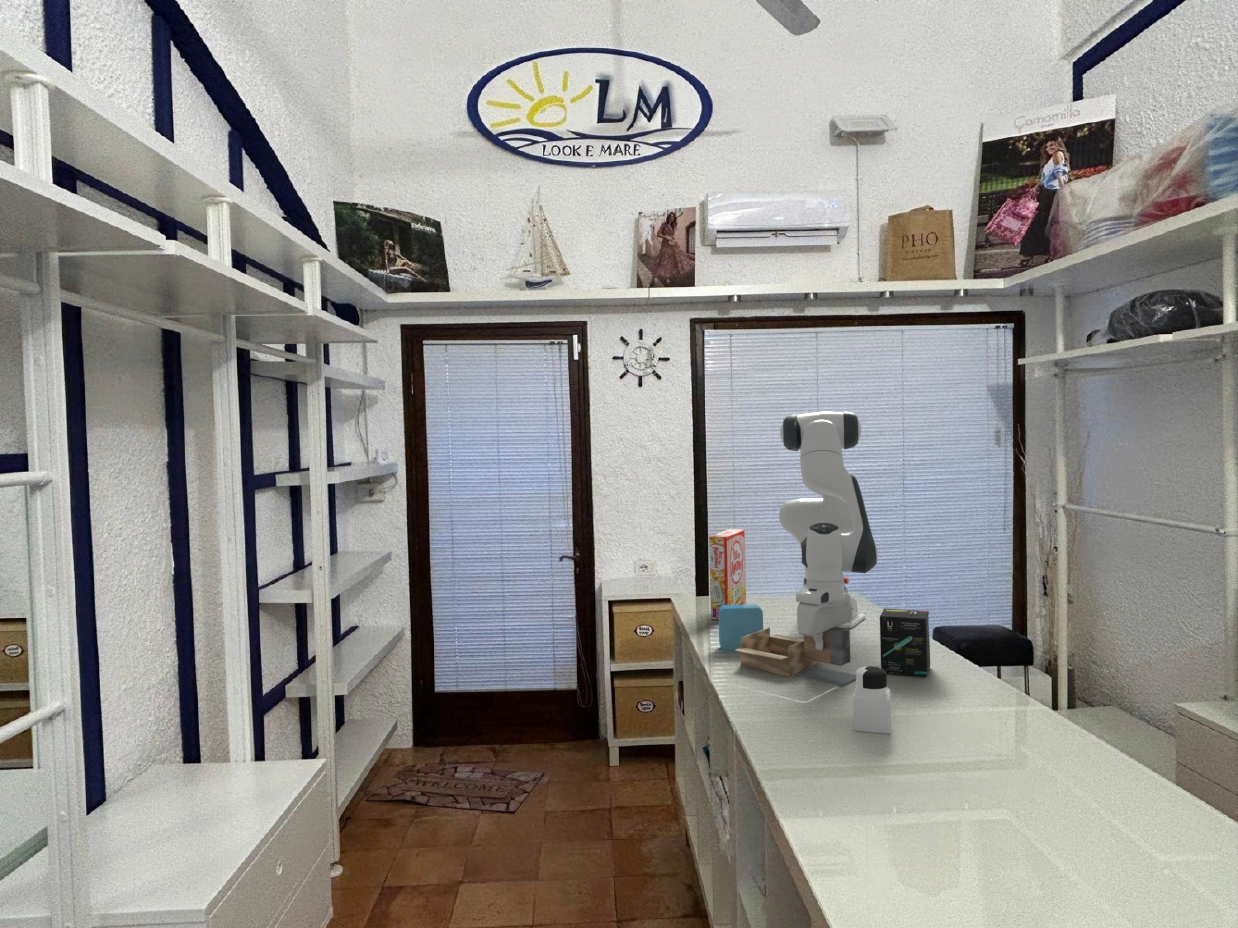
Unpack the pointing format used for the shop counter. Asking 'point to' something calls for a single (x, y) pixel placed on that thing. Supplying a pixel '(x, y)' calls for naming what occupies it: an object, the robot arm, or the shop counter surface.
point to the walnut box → (830, 647)
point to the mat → (827, 676)
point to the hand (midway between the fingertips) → (826, 646)
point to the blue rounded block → (738, 624)
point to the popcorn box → (727, 569)
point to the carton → (773, 653)
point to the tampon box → (905, 642)
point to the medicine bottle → (871, 701)
